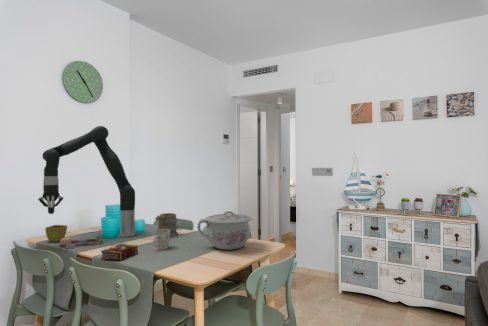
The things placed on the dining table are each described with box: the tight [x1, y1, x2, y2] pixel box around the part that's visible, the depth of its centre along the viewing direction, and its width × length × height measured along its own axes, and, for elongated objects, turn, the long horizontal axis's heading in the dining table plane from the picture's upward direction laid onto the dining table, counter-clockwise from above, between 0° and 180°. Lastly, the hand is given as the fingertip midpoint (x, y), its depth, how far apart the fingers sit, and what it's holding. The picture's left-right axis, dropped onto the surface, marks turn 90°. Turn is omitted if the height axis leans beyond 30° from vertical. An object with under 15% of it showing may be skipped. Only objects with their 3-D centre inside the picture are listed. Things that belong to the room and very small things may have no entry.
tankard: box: [154, 212, 179, 238], centre depth 210 cm, size 20×13×15 cm, turn 159°
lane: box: [58, 232, 103, 248], centre depth 190 cm, size 22×10×5 cm, turn 110°
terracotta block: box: [59, 237, 72, 246], centre depth 188 cm, size 5×5×4 cm
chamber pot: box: [196, 211, 253, 251], centre depth 184 cm, size 28×28×21 cm
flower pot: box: [44, 224, 68, 243], centre depth 198 cm, size 9×9×9 cm
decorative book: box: [100, 243, 139, 262], centre depth 165 cm, size 11×16×5 cm
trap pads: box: [64, 239, 87, 250], centre depth 189 cm, size 5×20×1 cm, turn 0°
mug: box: [153, 229, 171, 250], centre depth 180 cm, size 8×13×10 cm, turn 161°
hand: (51, 213), depth 185 cm, fingers closed
